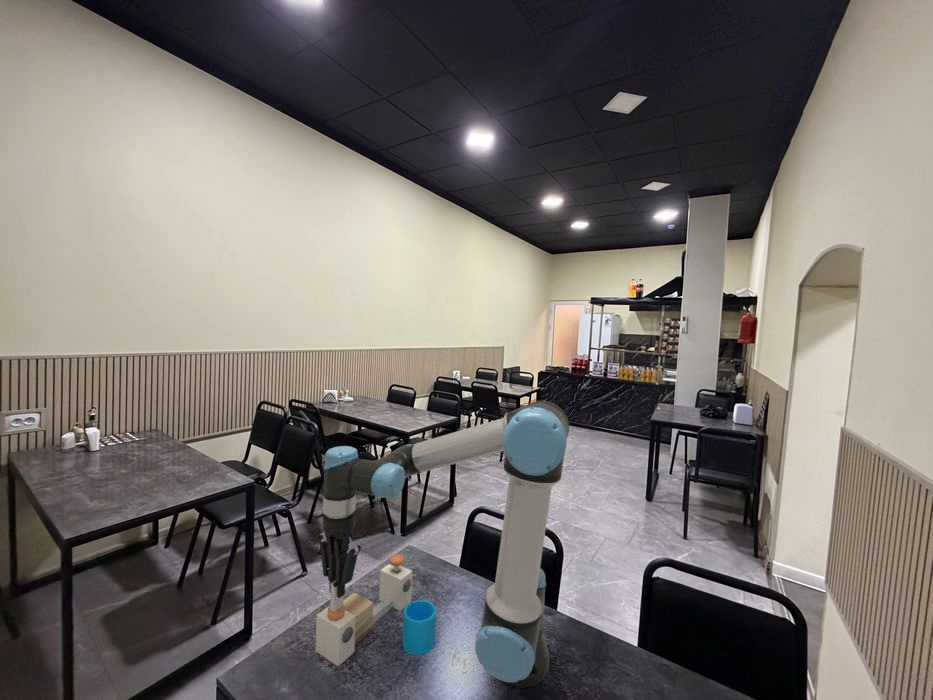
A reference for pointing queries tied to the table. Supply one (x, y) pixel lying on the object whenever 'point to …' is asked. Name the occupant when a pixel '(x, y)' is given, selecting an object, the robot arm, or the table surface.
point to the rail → (382, 609)
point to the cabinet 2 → (396, 586)
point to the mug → (419, 627)
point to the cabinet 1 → (335, 636)
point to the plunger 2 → (396, 562)
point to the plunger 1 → (336, 613)
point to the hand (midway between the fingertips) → (336, 607)
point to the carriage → (360, 614)
